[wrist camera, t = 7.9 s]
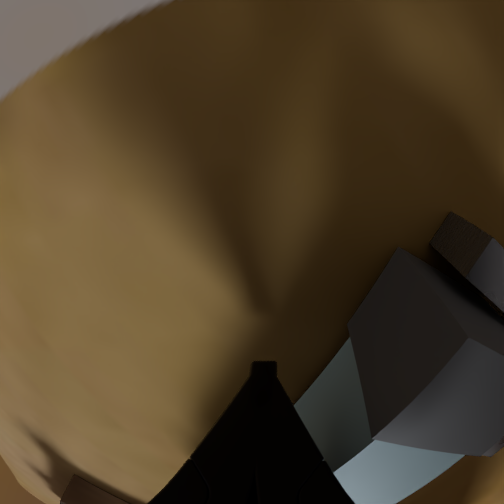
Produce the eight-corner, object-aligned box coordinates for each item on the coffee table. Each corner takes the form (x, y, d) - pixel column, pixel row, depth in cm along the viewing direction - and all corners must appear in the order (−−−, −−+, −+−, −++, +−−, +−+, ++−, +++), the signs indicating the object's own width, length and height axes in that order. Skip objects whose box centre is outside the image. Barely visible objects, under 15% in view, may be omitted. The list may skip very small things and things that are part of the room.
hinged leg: (293, 491, 12) (289, 558, 8) (220, 472, 11) (204, 543, 8) (486, 301, 7) (553, 383, 4) (398, 246, 7) (468, 337, 4)
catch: (541, 306, 7) (588, 355, 5) (463, 395, 9) (490, 456, 6) (451, 211, 7) (520, 256, 4) (352, 339, 8) (371, 422, 6)
